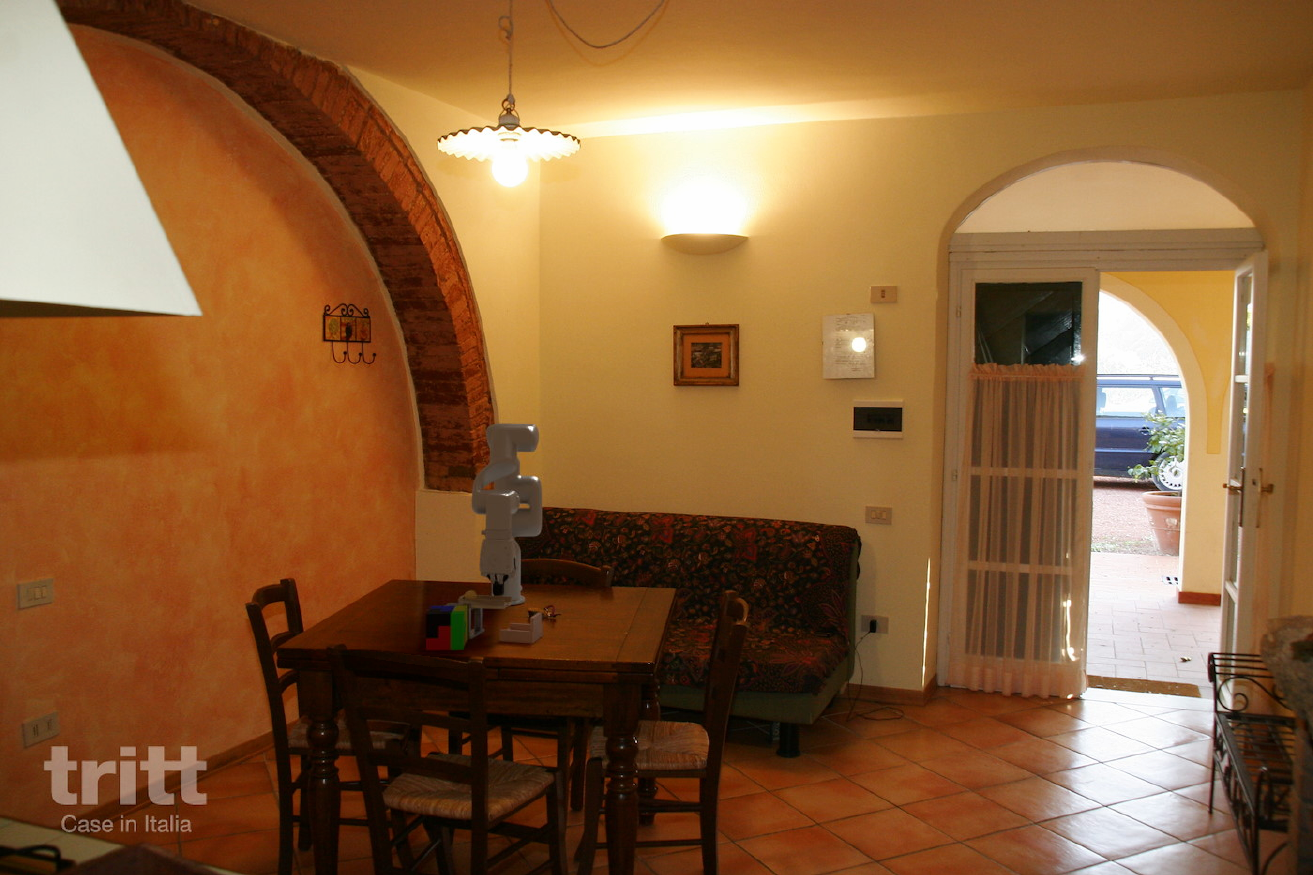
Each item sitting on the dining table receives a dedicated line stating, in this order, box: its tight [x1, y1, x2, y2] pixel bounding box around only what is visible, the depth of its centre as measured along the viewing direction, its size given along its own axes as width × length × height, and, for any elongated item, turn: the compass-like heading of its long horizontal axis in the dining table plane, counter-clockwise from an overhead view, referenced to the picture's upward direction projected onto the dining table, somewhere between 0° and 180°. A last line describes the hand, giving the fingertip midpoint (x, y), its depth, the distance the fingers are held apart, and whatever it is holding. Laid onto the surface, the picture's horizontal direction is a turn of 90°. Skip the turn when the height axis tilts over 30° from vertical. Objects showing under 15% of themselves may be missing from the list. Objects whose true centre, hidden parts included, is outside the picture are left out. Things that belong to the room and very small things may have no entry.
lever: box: [443, 594, 513, 611], centre depth 275 cm, size 12×20×7 cm, turn 77°
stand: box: [463, 603, 486, 640], centre depth 273 cm, size 10×3×10 cm, turn 167°
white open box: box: [499, 612, 544, 645], centre depth 269 cm, size 9×10×7 cm
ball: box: [464, 589, 478, 599], centre depth 273 cm, size 4×4×4 cm
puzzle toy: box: [425, 605, 468, 651], centre depth 262 cm, size 10×10×10 cm
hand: (498, 596), depth 277 cm, fingers closed
